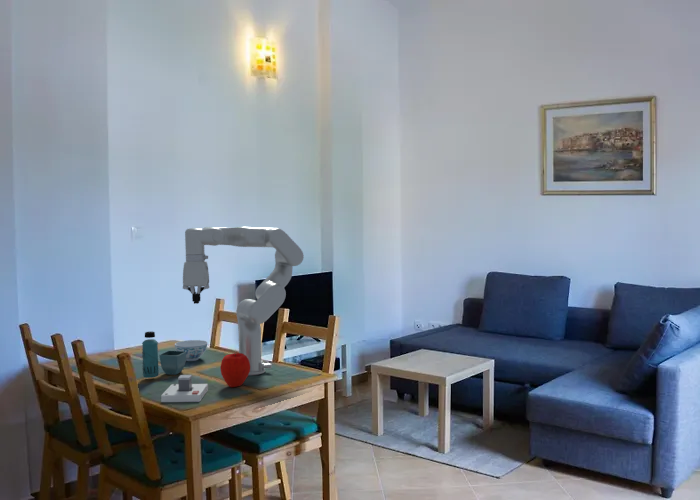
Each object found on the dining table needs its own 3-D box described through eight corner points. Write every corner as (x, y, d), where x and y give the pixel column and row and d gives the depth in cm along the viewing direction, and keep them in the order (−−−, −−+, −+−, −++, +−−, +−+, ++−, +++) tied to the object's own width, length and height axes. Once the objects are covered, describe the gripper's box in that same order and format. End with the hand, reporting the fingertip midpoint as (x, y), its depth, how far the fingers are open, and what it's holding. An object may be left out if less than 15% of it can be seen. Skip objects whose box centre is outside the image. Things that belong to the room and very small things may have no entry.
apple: (245, 390, 267) (244, 356, 267) (216, 389, 269) (215, 355, 269) (254, 383, 279) (253, 350, 278) (226, 382, 281) (225, 349, 280)
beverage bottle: (152, 376, 291) (151, 329, 290) (162, 379, 287) (161, 331, 286) (139, 379, 286) (138, 332, 285) (148, 382, 282) (147, 333, 281)
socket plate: (207, 390, 269) (207, 382, 269) (199, 401, 253) (199, 393, 253) (171, 390, 269) (171, 382, 269) (161, 402, 253) (161, 394, 253)
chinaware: (175, 356, 330) (175, 340, 329) (208, 355, 332) (207, 339, 332) (174, 363, 315) (173, 347, 314) (207, 362, 318) (207, 345, 317)
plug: (192, 393, 263) (191, 374, 263) (189, 396, 259) (189, 377, 258) (181, 393, 263) (180, 375, 263) (178, 396, 259) (177, 377, 258)
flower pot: (178, 376, 292) (178, 355, 291) (159, 375, 293) (158, 354, 293) (187, 371, 300) (187, 351, 300) (168, 370, 302) (168, 350, 301)
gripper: (215, 257, 285) (216, 301, 287) (178, 258, 285) (180, 302, 286) (212, 259, 278) (213, 304, 279) (174, 259, 278) (176, 304, 279)
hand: (196, 303), depth 283 cm, fingers closed
